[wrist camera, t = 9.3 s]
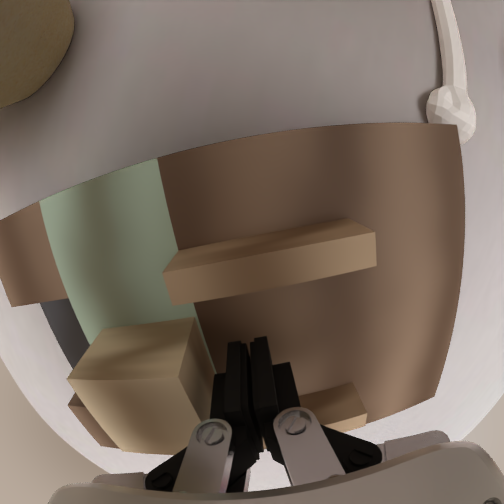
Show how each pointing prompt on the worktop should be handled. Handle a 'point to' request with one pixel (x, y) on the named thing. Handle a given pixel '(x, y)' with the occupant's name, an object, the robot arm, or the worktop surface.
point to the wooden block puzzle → (266, 258)
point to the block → (147, 384)
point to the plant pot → (31, 44)
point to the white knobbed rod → (451, 77)
